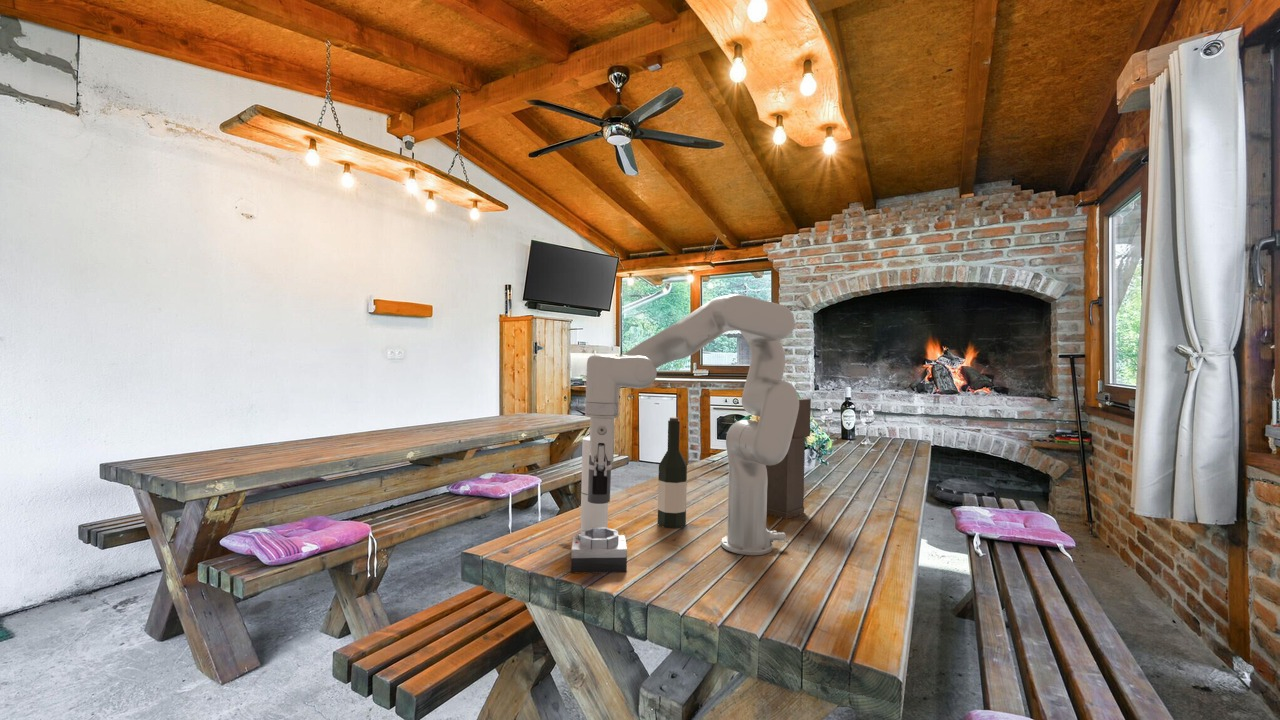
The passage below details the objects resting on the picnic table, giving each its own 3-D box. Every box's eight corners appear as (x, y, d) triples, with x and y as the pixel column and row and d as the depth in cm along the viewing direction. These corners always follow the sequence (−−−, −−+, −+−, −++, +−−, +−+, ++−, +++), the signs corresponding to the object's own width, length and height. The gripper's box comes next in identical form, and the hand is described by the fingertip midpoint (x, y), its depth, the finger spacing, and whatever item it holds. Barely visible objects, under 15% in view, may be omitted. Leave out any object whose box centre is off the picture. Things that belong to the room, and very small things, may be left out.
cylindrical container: (603, 537, 136) (605, 441, 136) (576, 535, 138) (578, 439, 138) (610, 529, 143) (612, 437, 143) (585, 527, 145) (587, 436, 145)
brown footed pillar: (810, 510, 166) (812, 399, 166) (786, 519, 156) (789, 401, 156) (758, 498, 180) (760, 395, 180) (733, 505, 170) (735, 396, 170)
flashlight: (610, 497, 122) (611, 453, 122) (610, 504, 116) (612, 458, 116) (587, 497, 121) (588, 453, 121) (587, 503, 116) (588, 457, 116)
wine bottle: (691, 522, 151) (693, 417, 151) (677, 530, 144) (680, 420, 144) (666, 517, 155) (668, 415, 155) (651, 524, 148) (653, 417, 148)
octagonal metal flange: (624, 556, 124) (624, 526, 124) (626, 572, 115) (627, 540, 115) (572, 557, 123) (573, 527, 123) (571, 572, 114) (571, 540, 114)
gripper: (620, 414, 111) (617, 501, 111) (616, 407, 128) (614, 482, 128) (584, 413, 110) (581, 500, 110) (585, 406, 127) (583, 482, 127)
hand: (599, 490), depth 119 cm, fingers closed on flashlight, 5 cm apart
